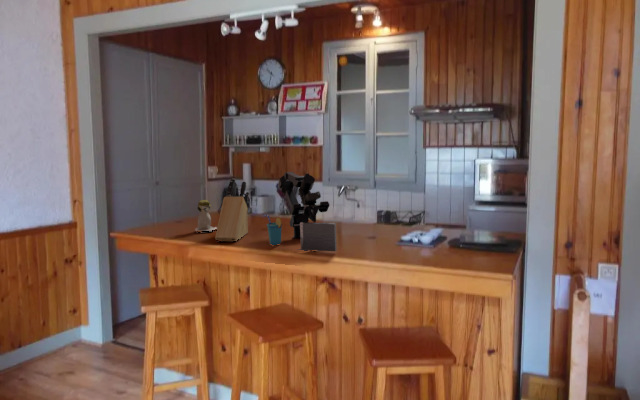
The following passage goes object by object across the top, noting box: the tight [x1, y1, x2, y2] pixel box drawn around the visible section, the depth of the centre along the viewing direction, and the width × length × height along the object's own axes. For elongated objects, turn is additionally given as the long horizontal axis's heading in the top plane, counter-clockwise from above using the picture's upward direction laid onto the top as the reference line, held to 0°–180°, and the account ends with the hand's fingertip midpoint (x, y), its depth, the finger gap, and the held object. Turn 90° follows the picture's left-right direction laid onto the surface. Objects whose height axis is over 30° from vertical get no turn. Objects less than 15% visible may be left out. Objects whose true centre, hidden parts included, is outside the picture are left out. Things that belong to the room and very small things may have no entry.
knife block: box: [214, 178, 251, 242], centre depth 262 cm, size 11×35×31 cm, turn 174°
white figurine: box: [194, 199, 217, 232], centre depth 280 cm, size 12×13×18 cm
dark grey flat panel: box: [300, 221, 337, 252], centre depth 220 cm, size 2×17×12 cm, turn 70°
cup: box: [261, 214, 283, 245], centre depth 239 cm, size 14×8×15 cm, turn 52°
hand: (315, 221), depth 231 cm, fingers closed
